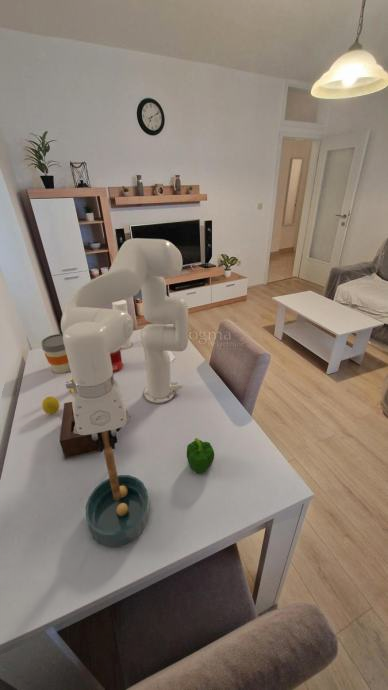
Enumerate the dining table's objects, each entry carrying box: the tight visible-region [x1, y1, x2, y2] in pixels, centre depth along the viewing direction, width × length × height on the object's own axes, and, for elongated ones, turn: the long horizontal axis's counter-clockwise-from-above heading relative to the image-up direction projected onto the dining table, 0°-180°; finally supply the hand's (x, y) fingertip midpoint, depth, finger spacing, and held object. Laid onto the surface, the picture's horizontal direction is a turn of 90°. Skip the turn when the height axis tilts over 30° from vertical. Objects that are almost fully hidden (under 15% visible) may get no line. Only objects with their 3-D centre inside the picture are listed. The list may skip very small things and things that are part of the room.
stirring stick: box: [100, 430, 121, 501], centre depth 67 cm, size 2×2×24 cm
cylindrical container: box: [111, 299, 132, 349], centre depth 145 cm, size 7×7×25 cm
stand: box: [59, 401, 100, 459], centre depth 94 cm, size 10×18×8 cm, turn 18°
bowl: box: [85, 474, 150, 548], centre depth 71 cm, size 15×15×6 cm
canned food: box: [110, 347, 123, 373], centre depth 129 cm, size 8×8×11 cm
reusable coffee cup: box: [41, 333, 71, 374], centre depth 128 cm, size 13×13×15 cm
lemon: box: [41, 395, 60, 415], centre depth 103 cm, size 6×6×8 cm
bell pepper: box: [186, 437, 215, 474], centre depth 84 cm, size 8×8×10 cm
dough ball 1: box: [119, 485, 128, 498], centre depth 75 cm, size 3×3×3 cm
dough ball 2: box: [116, 503, 128, 516], centre depth 72 cm, size 3×3×3 cm
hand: (107, 445), depth 64 cm, fingers closed on stirring stick, 2 cm apart
